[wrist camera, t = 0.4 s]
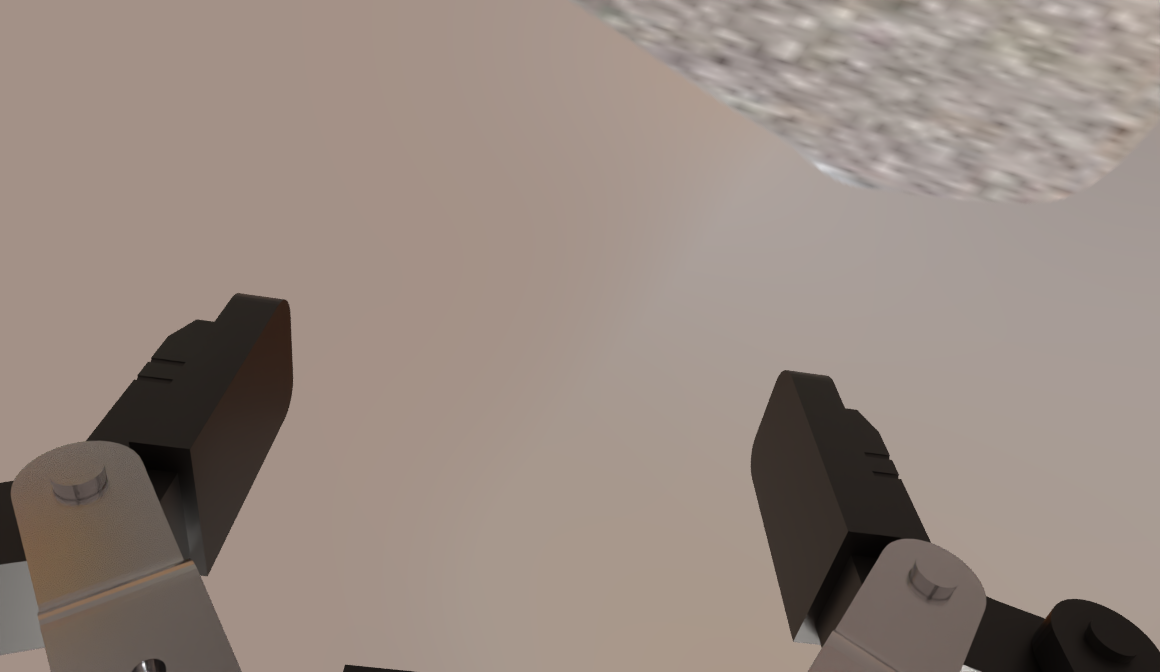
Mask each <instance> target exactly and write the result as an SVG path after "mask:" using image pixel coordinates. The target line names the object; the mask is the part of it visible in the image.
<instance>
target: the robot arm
mask: <svg viewBox="0 0 1160 672" xmlns="http://www.w3.org/2000/svg"><path fill="white" fill-rule="evenodd" d="M151 359H152V360H151V362H148V363H147V364H146V365H145V366H144V368H143V369H142V370H141V372H140V373H139V374H138V378H137V380H133V382H132V383H131V384H130V386H129V387H128V388H127V389H126V391H125V392H124V393H123V394H122V396H121V397H120V398H119V400H118V401H117V402H116V403H115V405H114V406H113V407H112V409H111V410H110V411H109V412H108V413H107V415H106V416H105V417H104V419H103V420H102V421H101V422H100V424H99V425H98V426H97V427H96V429H95V430H94V431H93V433H92V434H91V435H90V436H89V438H88V439H87V440H86V441H85V442H77V443H73V444H68V445H65V446H61V447H58V448H56V449H53V450H51V451H49V452H46V453H44V454H42V455H41V456H39V457H37V458H36V459H34V460H33V461H31V462H30V463H29V464H27V465H26V466H25V467H24V468H23V469H22V470H21V471H20V472H19V474H18V475H17V476H16V478H15V480H14V481H10V482H3V483H0V655H5V654H10V653H17V652H22V651H28V650H34V649H39V648H45V649H46V653H47V658H48V662H49V666H50V670H51V672H242V671H241V669H240V667H239V664H238V662H237V660H236V657H235V655H234V653H233V650H232V648H231V646H230V643H229V641H228V639H227V636H226V634H225V632H224V630H223V627H222V625H221V623H220V620H219V618H218V616H217V613H216V611H215V609H214V606H213V604H212V602H211V599H210V597H209V595H208V592H207V590H206V588H205V585H204V583H203V581H202V579H201V576H208V574H209V572H210V570H211V568H212V566H213V564H214V562H215V559H216V558H217V556H218V554H219V552H220V550H221V548H222V546H223V544H224V542H225V540H226V537H227V535H228V533H229V531H230V529H231V527H232V525H233V523H234V521H235V519H236V517H237V515H238V513H239V511H240V509H241V507H242V505H243V503H244V501H245V499H246V497H247V495H248V493H249V490H250V489H251V486H252V484H253V482H254V480H255V478H256V476H257V474H258V472H259V470H260V468H261V466H262V464H263V462H264V460H265V458H266V456H267V454H268V452H269V450H270V448H271V446H272V444H273V442H274V439H275V437H276V435H277V433H278V431H279V429H280V427H281V425H282V423H283V421H284V419H285V417H286V414H287V411H288V408H289V405H290V401H291V395H292V388H293V365H292V341H291V317H290V307H289V304H288V302H287V301H286V300H284V299H276V298H269V297H262V296H255V295H247V294H240V293H237V294H235V295H234V296H233V297H232V298H231V300H230V301H229V302H228V304H227V305H226V307H225V308H224V310H223V311H222V312H221V314H220V315H219V316H218V318H217V319H216V321H215V322H211V321H204V320H195V321H193V322H192V323H190V324H188V325H187V326H185V327H184V328H181V329H180V330H178V331H177V332H175V333H173V334H171V335H170V336H168V337H167V338H166V340H165V341H164V342H163V344H162V345H161V346H160V347H159V349H158V350H157V351H156V352H155V354H154V355H153V356H152V358H151ZM889 456H890V455H889V453H888V451H887V449H886V447H885V444H884V442H883V440H882V438H881V436H880V434H879V432H878V431H877V430H876V429H875V428H874V427H873V426H872V425H871V424H870V423H869V422H868V421H867V420H866V419H865V418H864V417H863V416H862V415H861V414H860V413H859V412H858V410H853V409H845V407H844V405H843V403H842V400H841V398H840V396H839V393H838V391H837V389H836V387H835V384H834V382H833V380H832V379H831V378H830V377H829V376H824V375H817V374H810V373H802V372H795V371H788V370H785V371H783V372H781V374H780V375H779V377H778V379H777V381H776V383H775V386H774V389H773V391H772V394H771V397H770V399H769V402H768V405H767V407H766V410H765V413H764V416H763V418H762V421H761V424H760V426H759V429H758V432H757V434H756V437H755V440H754V444H753V448H752V455H751V474H752V480H753V484H754V488H755V492H756V495H757V500H758V503H759V508H760V511H761V515H762V519H763V523H764V527H765V531H766V535H767V539H768V543H769V547H770V551H771V555H772V559H773V563H774V567H775V571H776V575H777V579H778V583H779V587H780V590H781V595H782V599H783V603H784V607H785V611H786V615H787V619H788V623H789V627H790V631H791V635H792V638H793V642H799V643H809V644H818V645H821V647H822V649H821V651H820V652H819V654H818V656H817V657H816V659H815V660H814V662H813V664H812V665H811V667H810V669H809V670H808V672H1160V652H1159V650H1158V649H1157V647H1156V646H1155V644H1154V643H1153V642H1152V641H1151V640H1150V639H1149V638H1148V636H1147V635H1146V634H1144V633H1143V632H1142V631H1141V630H1140V629H1139V628H1138V627H1137V626H1135V625H1134V624H1133V623H1132V622H1130V621H1129V620H1127V619H1126V618H1125V617H1123V616H1122V615H1120V614H1118V613H1116V612H1115V611H1113V610H1111V609H1109V608H1107V607H1105V606H1102V605H1100V604H1097V603H1094V602H1091V601H1086V600H1080V599H1067V600H1064V601H1061V602H1060V603H1058V604H1057V605H1056V606H1055V607H1054V608H1053V609H1052V611H1051V612H1050V613H1049V615H1048V616H1047V617H1046V619H1044V618H1042V617H1039V616H1036V615H1033V614H1031V613H1028V612H1025V611H1023V610H1020V609H1017V608H1015V607H1012V606H1009V605H1007V604H1004V603H1001V602H999V601H996V600H993V599H991V598H989V597H987V596H986V594H985V591H984V588H983V586H982V584H981V582H980V580H979V579H978V577H977V576H976V575H975V574H974V572H973V571H972V570H971V569H970V568H969V567H968V566H967V565H966V564H965V563H964V562H963V561H962V560H960V559H959V558H958V557H956V556H955V555H953V554H952V553H950V552H949V551H947V550H945V549H943V548H941V547H940V546H937V545H935V544H932V543H931V542H930V539H929V537H928V535H927V533H926V531H925V529H924V527H923V525H922V523H921V521H920V518H919V516H918V514H917V512H916V510H915V508H914V506H913V503H912V501H911V499H910V497H909V495H908V493H907V491H906V489H905V487H904V485H903V483H902V480H901V479H898V475H899V474H898V472H897V470H896V468H895V465H894V463H893V461H892V460H889ZM200 575H201V576H200ZM343 672H412V671H403V670H393V669H382V668H373V667H363V666H353V665H345V667H344V671H343Z"/></svg>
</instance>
